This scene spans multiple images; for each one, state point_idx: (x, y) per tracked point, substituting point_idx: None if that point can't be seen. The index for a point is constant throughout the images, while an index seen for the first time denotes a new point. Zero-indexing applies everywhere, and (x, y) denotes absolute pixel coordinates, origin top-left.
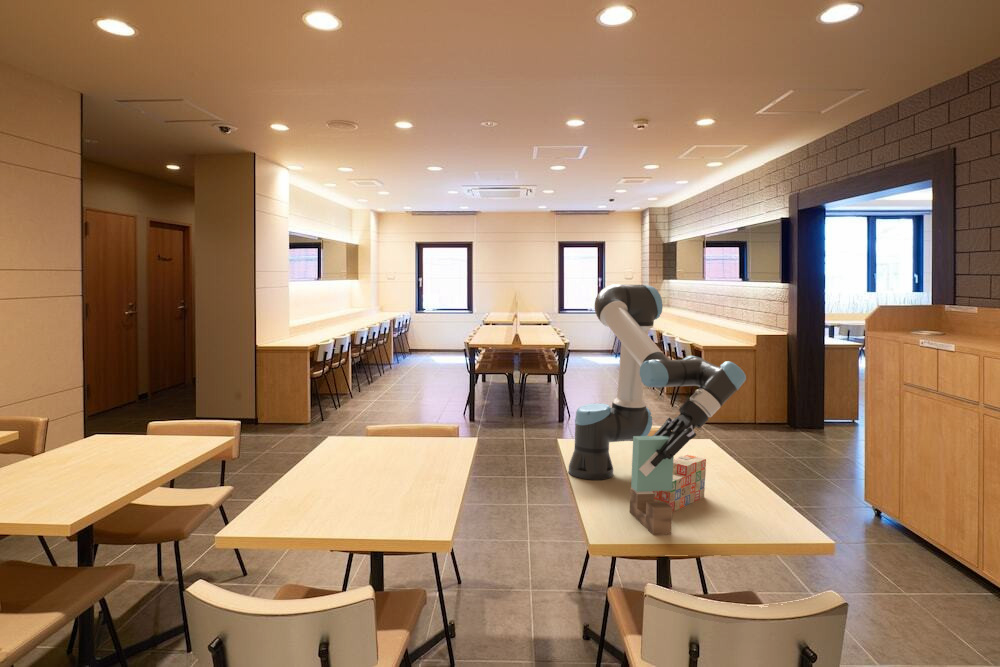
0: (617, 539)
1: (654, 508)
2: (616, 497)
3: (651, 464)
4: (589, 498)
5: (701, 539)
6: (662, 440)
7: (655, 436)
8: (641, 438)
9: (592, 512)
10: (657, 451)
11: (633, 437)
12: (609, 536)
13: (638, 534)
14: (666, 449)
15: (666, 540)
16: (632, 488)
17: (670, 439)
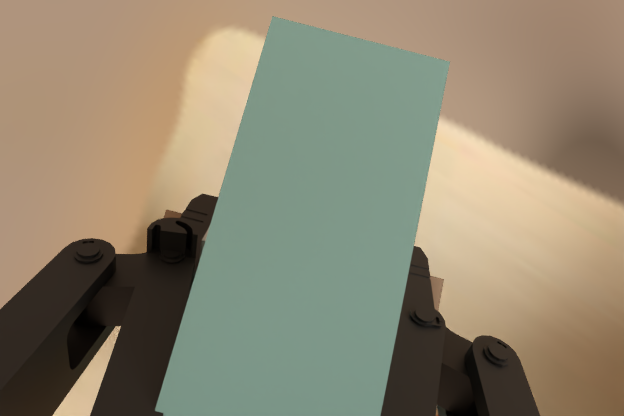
0: (212, 94)
1: (168, 212)
2: (574, 336)
3: None
4: (588, 221)
5: (81, 381)
6: (184, 318)
7: (361, 336)
8: (328, 88)
9: (450, 150)
10: (169, 222)
11: (437, 66)
12: (242, 84)
13: (217, 184)
14: (72, 274)
15: (134, 245)
16: (436, 285)
17: (97, 411)
